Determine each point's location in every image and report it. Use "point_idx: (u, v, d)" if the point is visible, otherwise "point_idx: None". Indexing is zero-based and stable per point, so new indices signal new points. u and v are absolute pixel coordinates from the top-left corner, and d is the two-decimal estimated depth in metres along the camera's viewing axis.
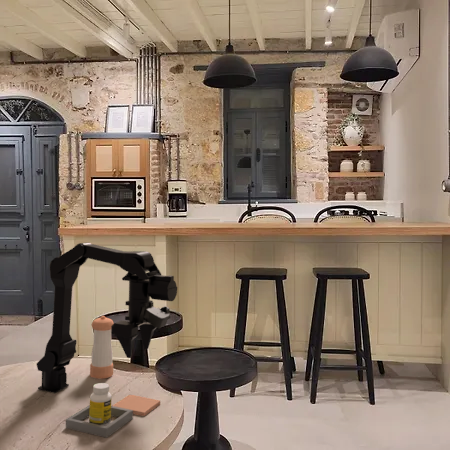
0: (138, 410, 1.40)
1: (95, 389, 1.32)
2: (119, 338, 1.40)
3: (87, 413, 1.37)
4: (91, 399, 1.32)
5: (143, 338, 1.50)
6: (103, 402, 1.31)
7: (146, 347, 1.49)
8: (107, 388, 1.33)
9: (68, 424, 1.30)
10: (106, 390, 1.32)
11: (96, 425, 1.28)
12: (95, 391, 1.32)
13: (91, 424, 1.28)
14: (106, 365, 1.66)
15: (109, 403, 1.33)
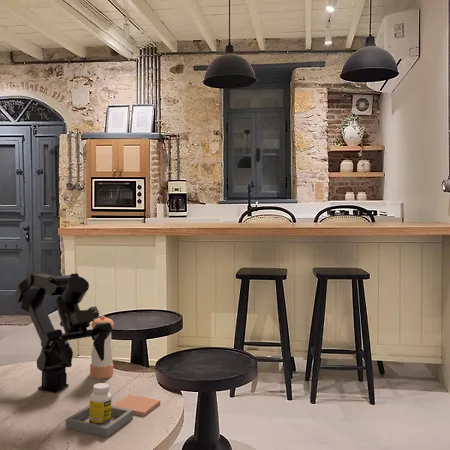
0: (138, 410, 1.40)
1: (95, 389, 1.32)
2: (55, 352, 1.39)
3: (87, 413, 1.37)
4: (91, 399, 1.32)
5: (98, 352, 1.44)
6: (103, 402, 1.31)
7: (101, 358, 1.42)
8: (107, 388, 1.33)
9: (68, 424, 1.30)
10: (106, 390, 1.32)
11: (96, 425, 1.28)
12: (95, 391, 1.32)
13: (91, 424, 1.28)
14: (106, 365, 1.66)
15: (109, 403, 1.33)
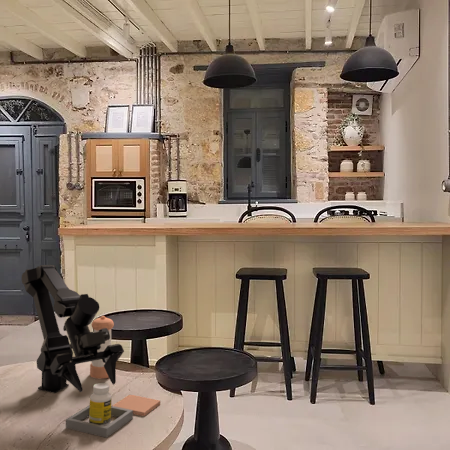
0: (138, 410, 1.40)
1: (95, 389, 1.32)
2: (65, 377, 1.34)
3: (87, 413, 1.37)
4: (91, 399, 1.32)
5: (109, 375, 1.39)
6: (103, 402, 1.31)
7: (113, 381, 1.37)
8: (107, 388, 1.33)
9: (68, 424, 1.30)
10: (106, 390, 1.32)
11: (96, 425, 1.28)
12: (95, 391, 1.32)
13: (91, 424, 1.28)
14: None
15: (109, 403, 1.33)
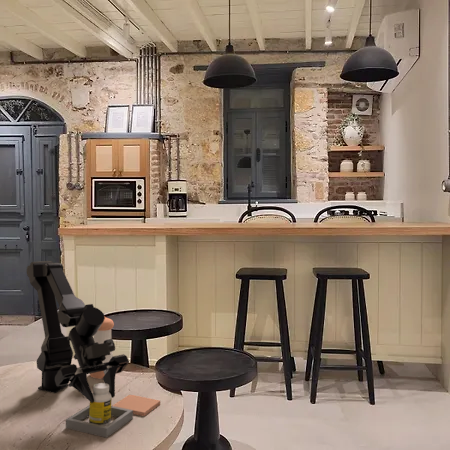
0: (138, 410, 1.40)
1: (95, 389, 1.32)
2: (76, 387, 1.33)
3: (87, 413, 1.37)
4: None
5: None
6: (103, 402, 1.31)
7: (112, 395, 1.34)
8: (107, 388, 1.33)
9: (68, 424, 1.30)
10: (106, 390, 1.32)
11: (96, 425, 1.28)
12: (95, 391, 1.32)
13: (91, 424, 1.28)
14: None
15: (109, 403, 1.33)
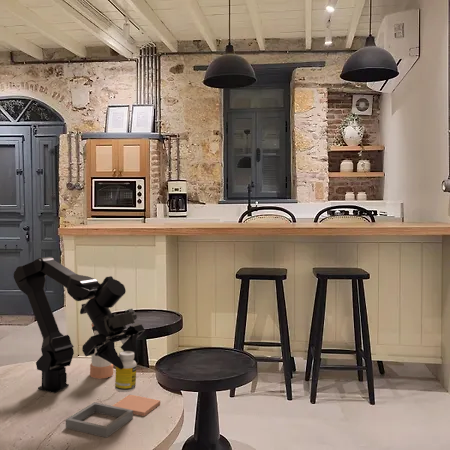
0: (138, 410, 1.40)
1: (123, 356, 1.38)
2: (103, 356, 1.38)
3: (87, 413, 1.37)
4: None
5: None
6: (132, 368, 1.38)
7: (136, 361, 1.41)
8: (133, 355, 1.39)
9: (68, 424, 1.30)
10: (133, 356, 1.39)
11: (96, 425, 1.28)
12: (123, 358, 1.38)
13: (91, 424, 1.28)
14: (106, 365, 1.66)
15: (135, 369, 1.39)
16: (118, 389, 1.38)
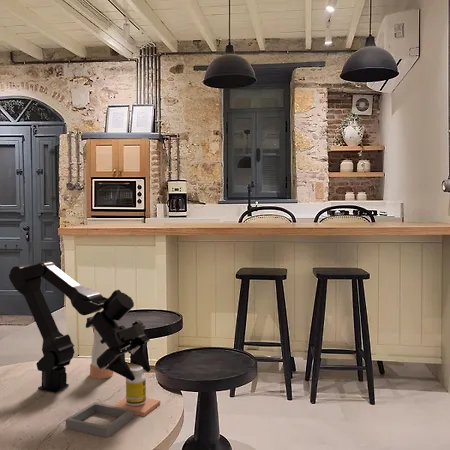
0: (138, 410, 1.40)
1: (133, 372, 1.42)
2: (113, 369, 1.40)
3: (87, 413, 1.37)
4: (130, 381, 1.42)
5: (141, 364, 1.49)
6: (142, 382, 1.43)
7: (148, 369, 1.47)
8: (142, 369, 1.44)
9: (68, 424, 1.30)
10: (142, 370, 1.44)
11: (96, 425, 1.28)
12: (133, 373, 1.42)
13: (91, 424, 1.28)
14: None
15: (145, 382, 1.45)
16: (131, 403, 1.42)
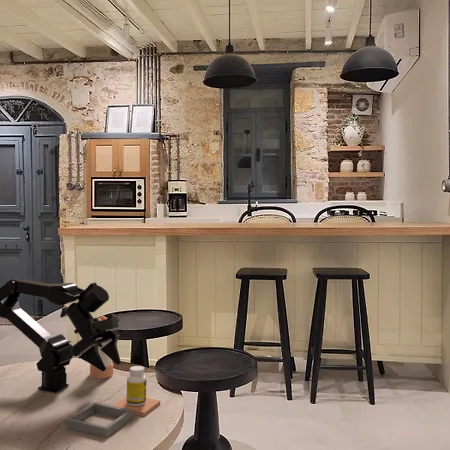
0: (138, 410, 1.40)
1: (135, 371, 1.43)
2: (85, 359, 1.43)
3: (87, 413, 1.37)
4: (131, 381, 1.42)
5: (111, 357, 1.53)
6: (144, 382, 1.43)
7: (118, 362, 1.53)
8: (143, 369, 1.45)
9: (68, 424, 1.30)
10: (143, 371, 1.44)
11: (96, 425, 1.28)
12: (135, 373, 1.43)
13: (91, 424, 1.28)
14: (106, 365, 1.66)
15: (146, 381, 1.45)
16: (131, 403, 1.42)
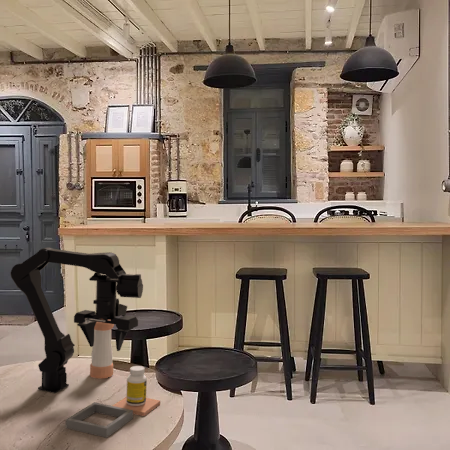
0: (138, 410, 1.40)
1: (135, 372, 1.43)
2: (120, 334, 1.49)
3: (87, 413, 1.37)
4: (132, 381, 1.42)
5: (90, 337, 1.54)
6: (144, 382, 1.43)
7: (92, 344, 1.56)
8: (144, 369, 1.45)
9: (68, 424, 1.30)
10: (144, 371, 1.44)
11: (96, 425, 1.28)
12: (135, 373, 1.43)
13: (91, 424, 1.28)
14: (106, 365, 1.66)
15: (146, 382, 1.45)
16: (131, 403, 1.42)
